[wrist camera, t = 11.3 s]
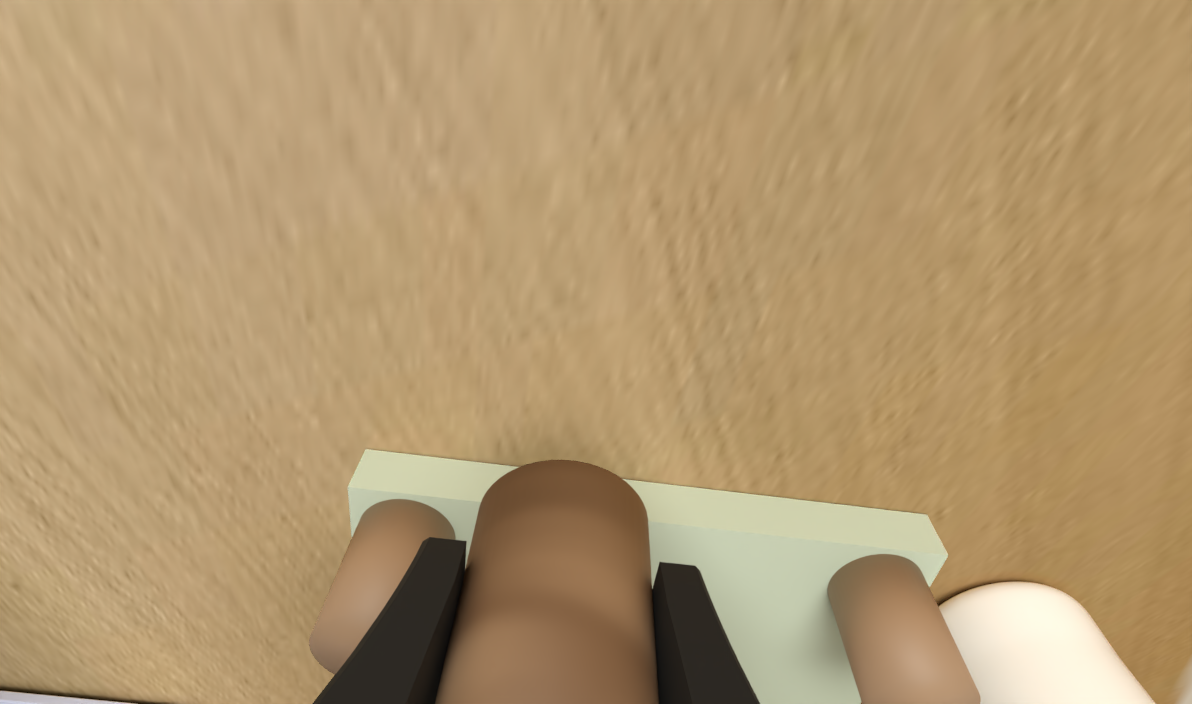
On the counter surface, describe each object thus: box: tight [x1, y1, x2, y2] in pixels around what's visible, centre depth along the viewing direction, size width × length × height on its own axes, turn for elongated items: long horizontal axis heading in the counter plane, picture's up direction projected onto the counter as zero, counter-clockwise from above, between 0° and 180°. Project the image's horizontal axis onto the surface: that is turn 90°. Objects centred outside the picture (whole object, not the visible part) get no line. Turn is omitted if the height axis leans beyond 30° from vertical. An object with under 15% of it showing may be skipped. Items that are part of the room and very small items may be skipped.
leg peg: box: [435, 460, 659, 704], centre depth 10 cm, size 3×3×6 cm
